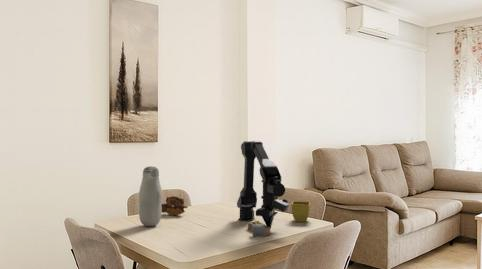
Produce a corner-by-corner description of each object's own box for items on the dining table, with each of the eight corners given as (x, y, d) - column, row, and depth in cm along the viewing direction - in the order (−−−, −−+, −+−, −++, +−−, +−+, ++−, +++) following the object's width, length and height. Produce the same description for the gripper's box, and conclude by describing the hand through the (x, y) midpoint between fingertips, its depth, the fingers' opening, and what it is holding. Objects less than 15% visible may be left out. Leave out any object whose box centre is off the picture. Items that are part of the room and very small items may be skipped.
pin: (254, 229, 186) (254, 220, 185) (255, 228, 187) (255, 219, 187) (257, 229, 185) (257, 220, 185) (259, 228, 186) (259, 220, 186)
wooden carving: (157, 215, 218) (157, 196, 218) (161, 213, 222) (161, 195, 222) (185, 217, 212) (185, 197, 212) (189, 215, 217) (189, 196, 217)
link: (247, 228, 186) (247, 222, 186) (258, 227, 188) (258, 221, 188) (260, 235, 174) (260, 228, 174) (271, 234, 176) (271, 227, 176)
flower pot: (309, 223, 198) (309, 204, 198) (291, 222, 200) (291, 204, 200) (310, 219, 207) (310, 201, 207) (292, 218, 209) (292, 201, 209)
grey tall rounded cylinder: (135, 227, 189) (135, 166, 188) (147, 223, 198) (147, 165, 198) (153, 229, 185) (153, 167, 185) (165, 224, 195) (165, 165, 195)
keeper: (251, 234, 177) (251, 224, 177) (264, 233, 177) (264, 224, 177) (252, 236, 172) (252, 226, 172) (265, 236, 173) (265, 226, 173)
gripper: (280, 197, 168) (280, 235, 168) (292, 191, 186) (292, 226, 186) (255, 196, 173) (255, 233, 173) (269, 190, 190) (269, 223, 190)
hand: (269, 228), depth 180 cm, fingers closed
